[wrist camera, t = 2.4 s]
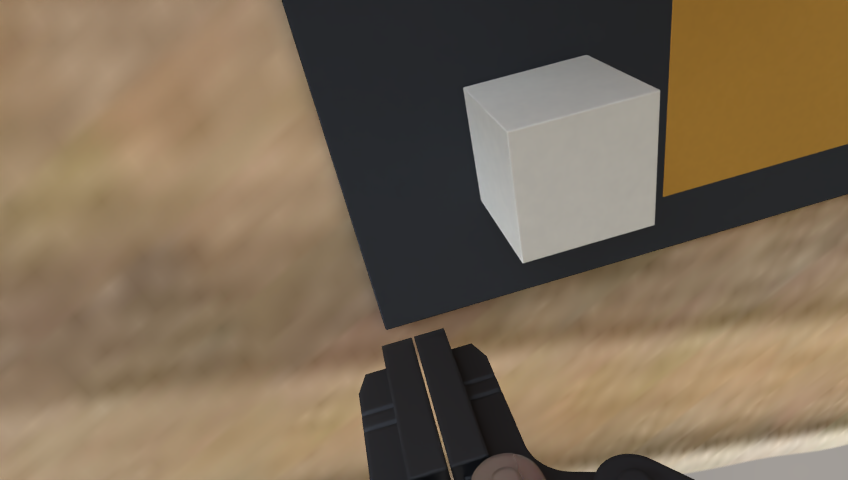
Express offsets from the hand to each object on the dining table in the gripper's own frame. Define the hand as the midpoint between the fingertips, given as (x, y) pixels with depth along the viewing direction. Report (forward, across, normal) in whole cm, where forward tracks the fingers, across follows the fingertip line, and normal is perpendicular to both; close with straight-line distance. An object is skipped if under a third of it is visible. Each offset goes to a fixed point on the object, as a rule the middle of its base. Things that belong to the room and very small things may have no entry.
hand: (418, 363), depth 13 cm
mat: (+11, -13, 0) cm, 17 cm away
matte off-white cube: (+11, -7, 0) cm, 13 cm away
